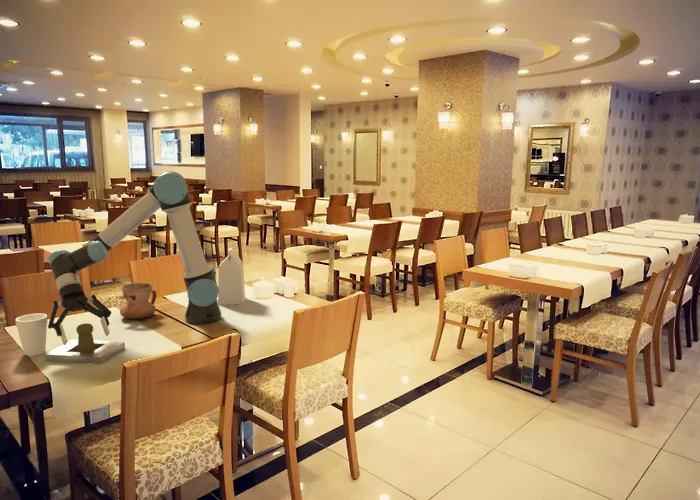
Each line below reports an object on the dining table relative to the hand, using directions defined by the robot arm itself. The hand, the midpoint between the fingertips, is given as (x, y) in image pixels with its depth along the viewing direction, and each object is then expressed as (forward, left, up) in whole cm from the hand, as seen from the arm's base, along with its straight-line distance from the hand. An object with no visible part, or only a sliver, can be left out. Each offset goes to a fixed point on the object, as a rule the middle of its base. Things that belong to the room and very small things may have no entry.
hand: (87, 338), depth 174 cm
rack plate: (+2, -1, -6) cm, 7 cm away
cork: (+2, -2, -7) cm, 7 cm away
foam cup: (+21, -1, -7) cm, 22 cm away
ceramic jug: (+6, -46, -7) cm, 47 cm away
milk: (-26, -75, -7) cm, 80 cm away
